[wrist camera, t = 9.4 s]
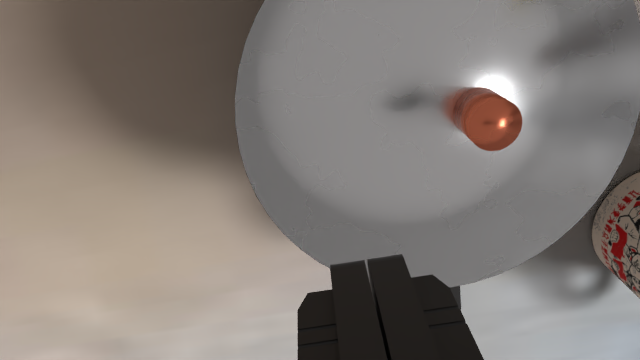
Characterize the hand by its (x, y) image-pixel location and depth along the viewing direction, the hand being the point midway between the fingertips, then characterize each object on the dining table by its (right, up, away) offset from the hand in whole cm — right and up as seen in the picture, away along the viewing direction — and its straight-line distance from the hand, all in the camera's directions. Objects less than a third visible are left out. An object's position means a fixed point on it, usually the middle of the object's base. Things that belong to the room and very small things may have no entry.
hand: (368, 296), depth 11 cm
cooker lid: (+4, +5, +11) cm, 13 cm away
